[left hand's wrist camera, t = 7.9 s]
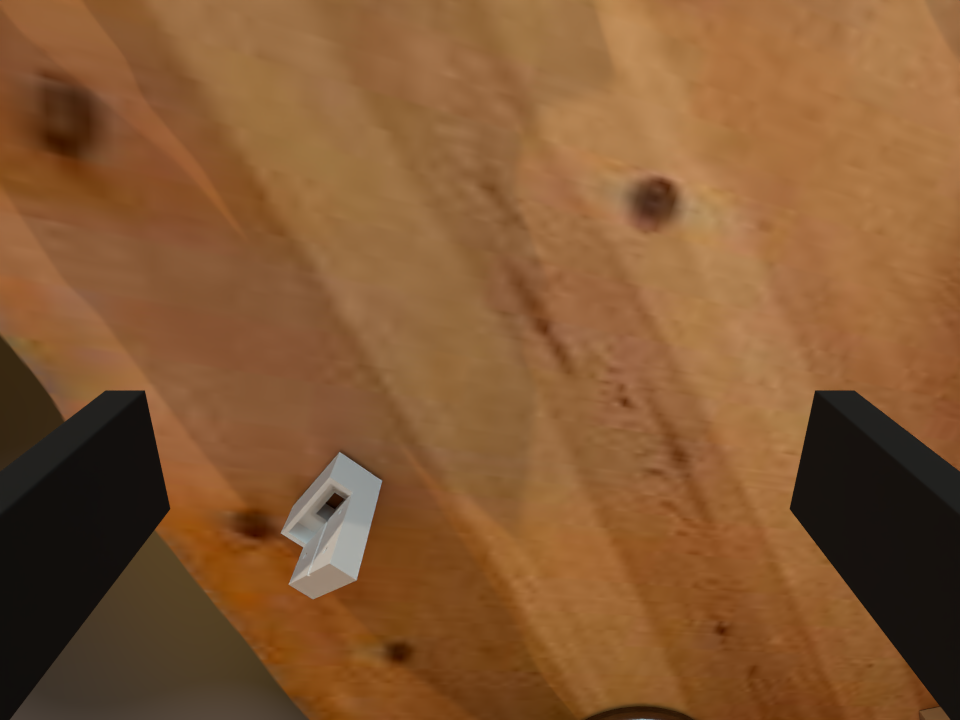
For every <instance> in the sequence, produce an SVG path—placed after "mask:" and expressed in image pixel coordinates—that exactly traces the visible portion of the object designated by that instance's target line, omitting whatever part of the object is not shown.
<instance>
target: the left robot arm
mask: <svg viewBox="0 0 960 720" xmlns="http://www.w3.org/2000/svg"><path fill="white" fill-rule="evenodd" d="M169 510H170V505H169V501H168V496H167V491H166V487H165V482H164V478H163V473H162V468H161V464H160V459H159V454H158V450H157V445H156V440H155V436H154V431H153V426H152V422H151V417H150V413H149V408H148V403H147V399H146V394H145V391H104V392H103V393H102V394H101V395H99V396H98V397H97V398H95V399H94V400H93V401H91V402H90V403H89V404H88V405H86V406H85V407H84V408H82V409H81V410H80V411H78V412H77V413H76V414H75V415H73V416H72V417H71V418H69V419H68V420H67V421H65V422H64V423H63V424H62V425H60V426H59V427H58V428H56V429H55V430H54V431H53V432H51V433H50V434H49V435H47V436H46V437H45V438H43V439H42V440H41V441H39V442H38V443H37V444H36V445H34V446H33V447H32V448H30V449H29V450H28V451H26V452H25V453H24V454H23V455H21V456H20V457H19V458H17V459H16V460H15V461H13V462H12V463H11V464H10V465H8V466H7V467H6V468H4V469H3V470H2V471H1V472H0V720H10V719H11V717H12V716H13V715H14V713H15V712H16V711H17V709H18V708H19V707H20V705H21V704H22V703H23V701H24V700H25V699H26V697H27V696H28V695H29V694H30V692H31V691H32V690H33V688H34V687H35V686H36V684H37V683H38V682H39V680H40V679H41V678H42V677H43V675H44V674H45V673H46V671H47V670H48V669H49V667H50V666H51V665H52V663H53V662H54V661H55V660H56V658H57V657H58V656H59V654H60V653H61V652H62V650H63V649H64V648H65V646H66V645H67V644H68V642H69V641H70V640H71V638H72V637H73V636H74V635H75V633H76V632H77V631H78V629H79V628H80V627H81V625H82V624H83V623H84V621H85V620H86V619H87V618H88V616H89V615H90V614H91V612H92V611H93V610H94V608H95V607H96V606H97V604H98V603H99V602H100V600H101V599H102V598H103V597H104V595H105V594H106V593H107V591H108V590H109V589H110V587H111V586H112V585H113V583H114V582H115V581H116V579H117V578H118V577H119V576H120V574H121V573H122V572H123V570H124V569H125V568H126V566H127V565H128V564H129V562H130V561H131V560H132V558H133V557H134V556H135V555H136V553H137V552H138V551H139V549H140V548H141V547H142V545H143V544H144V543H145V541H146V540H147V539H148V537H149V536H150V535H151V534H152V532H153V531H154V530H155V528H156V527H157V526H158V524H159V523H160V522H161V520H162V519H163V518H164V517H165V515H166V514H167V513H168V511H169ZM790 510H791V511H792V513H793V514H794V515H795V517H796V518H797V519H798V520H799V522H800V523H801V524H802V526H803V527H804V528H805V530H806V531H807V532H808V534H809V535H810V536H811V538H812V539H813V540H814V541H815V543H816V544H817V545H818V547H819V548H820V549H821V551H822V552H823V553H824V555H825V556H826V557H827V559H828V560H829V561H830V562H831V564H832V565H833V566H834V568H835V569H836V570H837V572H838V573H839V574H840V576H841V577H842V578H843V580H844V581H845V582H846V583H847V585H848V586H849V587H850V589H851V590H852V591H853V593H854V594H855V595H856V597H857V598H858V599H859V600H860V602H861V603H862V604H863V606H864V607H865V608H866V610H867V611H868V612H869V614H870V615H871V616H872V618H873V619H874V620H875V621H876V623H877V624H878V625H879V627H880V628H881V629H882V631H883V632H884V633H885V635H886V636H887V637H888V639H889V640H890V641H891V642H892V644H893V645H894V646H895V648H896V649H897V650H898V652H899V653H900V654H901V656H902V657H903V658H904V660H905V661H906V662H907V663H908V665H909V666H910V667H911V669H912V670H913V671H914V673H915V674H916V675H917V677H918V678H919V679H920V681H921V682H922V683H923V684H924V686H925V687H926V688H927V690H928V691H929V692H930V694H931V695H932V696H933V698H934V699H935V700H936V701H937V703H938V704H939V705H940V707H941V708H942V709H943V711H944V712H945V713H946V715H947V716H948V717H949V719H950V720H960V471H958V470H957V469H956V468H954V467H953V466H952V465H950V464H949V463H948V462H947V461H945V460H944V459H943V458H941V457H940V456H939V455H937V454H936V453H935V452H934V451H932V450H931V449H930V448H928V447H927V446H926V445H924V444H923V443H922V442H921V441H919V440H918V439H917V438H915V437H914V436H913V435H911V434H910V433H909V432H908V431H906V430H905V429H904V428H902V427H901V426H900V425H898V424H897V423H896V422H895V421H893V420H892V419H891V418H889V417H888V416H887V415H885V414H884V413H883V412H882V411H880V410H879V409H878V408H876V407H875V406H874V405H872V404H871V403H870V402H869V401H867V400H866V399H865V398H863V397H862V396H861V395H859V394H858V393H857V392H856V391H815V394H814V399H813V403H812V408H811V413H810V417H809V422H808V426H807V431H806V436H805V440H804V445H803V450H802V454H801V459H800V464H799V468H798V473H797V478H796V482H795V487H794V491H793V496H792V501H791V505H790ZM586 720H693V719H691V718H690V717H688V716H685V715H683V714H681V713H678V712H675V711H671V710H667V709H662V708H655V707H627V708H620V709H614V710H610V711H606V712H603V713H600V714H597V715H595V716H592V717H590V718H588V719H586Z"/></svg>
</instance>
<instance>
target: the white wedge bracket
mask: <svg viewBox="0 0 960 720" xmlns="http://www.w3.org/2000/svg"><path fill="white" fill-rule="evenodd" d="M381 484H382V480H380V479H379V478H377V477H376V476H374V475H373V474H371V473H370V472H368V471H367V470H366V469H364V468H363V467H361V466H360V465H358V464H357V463H355V462H354V461H352V460H351V459H349V458H348V457H346V456H345V455H344V454H342V453H341V452H339V453H338V454H337V456H336V457H335V458H334V459H333V460H332V461H331V463H330V464H329V465H328V466H327V467H326V468H325V470H324V471H323V472H322V473H321V474H320V475H319V477H318V478H317V479H316V480H315V481H314V482H313V483H312V485H311V486H310V487H309V488H308V489H307V490H306V492H305V493H304V494H303V495H302V496H301V497H300V499H299V500H298V501H297V502H296V503H295V504H294V506H293V508H292V510H291V512H290V514H289V516H288V518H287V521H286V523H285V525H284V527H283V529H282V531H281V534H283V535H284V536H286V537H288V538H289V539H291V540H292V541H294V542H295V543H297V544H299V545H300V546H302V547H303V550H302V552H301V555H300V557H299V560H298V562H297V565H296V567H295V570H294V572H293V575H292V577H291V580H290V583H289V585H290V586H292V587H293V588H295V589H297V590H298V591H300V592H302V593H303V594H305V595H307V596H308V597H310V598H312V599H315V598H317V597H319V596H322V595H324V594H326V593H328V592H331V591H333V590H335V589H338V588H340V587H342V586H345V585H347V584H349V583H351V582H354V581H356V580H357V577H358V573H359V569H360V565H361V561H362V557H363V553H364V550H365V546H366V542H367V538H368V534H369V530H370V526H371V522H372V519H373V515H374V511H375V507H376V503H377V499H378V495H379V491H380V487H381ZM334 493H336V494H338V495H339V496H341V497H342V498H344V499H343V501H342V502H341V503H340V504H339V505H338V506H337V507H336V508H335V509H333V508H332V507H330V506H329V505H327V504H326V502H327V501H328V500H329V498H330V497H331V496H332V495H333V494H334Z"/></svg>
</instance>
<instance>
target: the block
mask: <svg viewBox="0 0 960 720" xmlns="http://www.w3.org/2000/svg"><path fill="white" fill-rule="evenodd" d="M919 713H920V720H950V719H949V717H948V716H947V715H946V713H945V712H944V711H943V709H942V708H941V707H936V708H931V709H926V710H922V711H919Z"/></svg>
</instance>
